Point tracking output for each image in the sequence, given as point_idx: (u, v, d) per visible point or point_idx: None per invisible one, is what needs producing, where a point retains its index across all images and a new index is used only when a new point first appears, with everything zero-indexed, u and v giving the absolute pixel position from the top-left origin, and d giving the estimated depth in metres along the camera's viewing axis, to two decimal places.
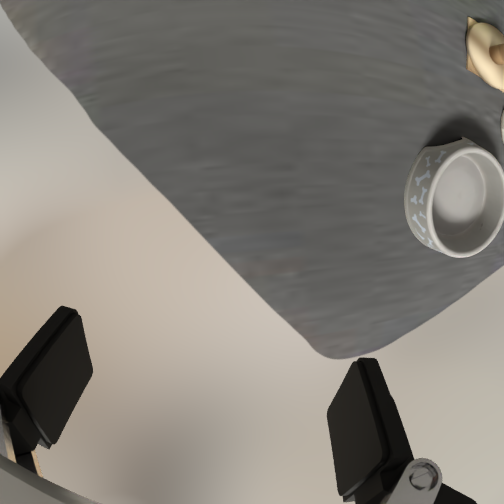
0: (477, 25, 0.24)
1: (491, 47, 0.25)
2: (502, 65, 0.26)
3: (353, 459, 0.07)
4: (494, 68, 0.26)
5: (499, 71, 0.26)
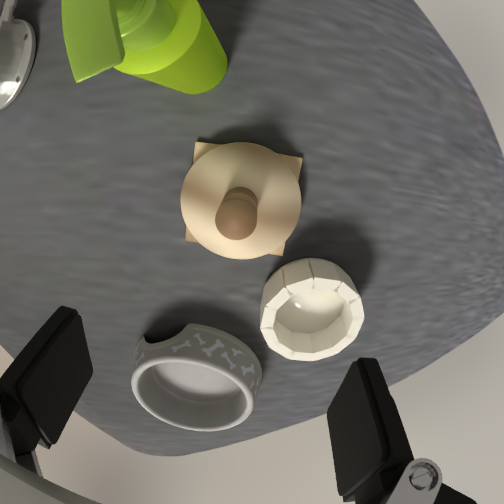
0: (201, 160, 0.26)
1: None
2: (256, 217, 0.28)
3: (353, 459, 0.07)
4: None
5: None
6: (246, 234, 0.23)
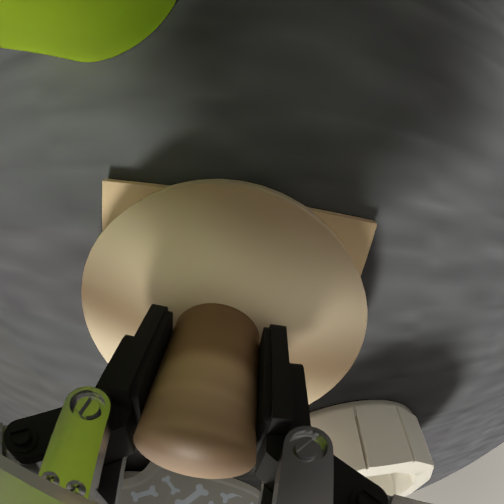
0: (109, 234, 0.09)
1: (174, 328, 0.10)
2: None
3: None
4: None
5: None
6: (227, 474, 0.07)
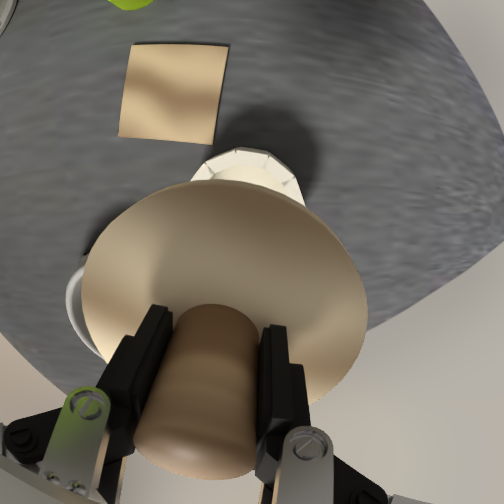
0: (109, 235, 0.09)
1: (174, 329, 0.10)
2: None
3: None
4: None
5: None
6: (226, 475, 0.07)
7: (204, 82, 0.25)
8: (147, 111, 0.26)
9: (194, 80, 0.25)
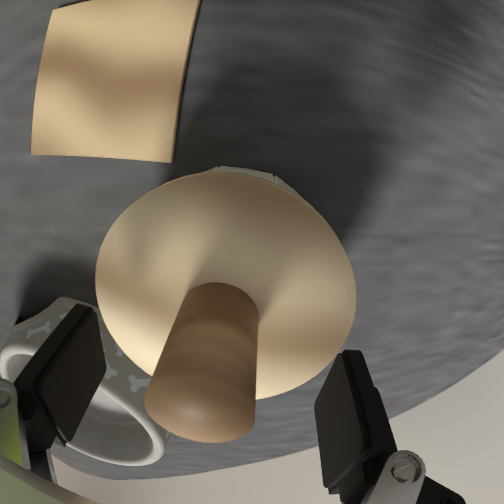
0: (123, 220, 0.11)
1: (181, 306, 0.11)
2: None
3: (337, 450, 0.07)
4: None
5: None
6: (228, 436, 0.08)
7: (157, 49, 0.12)
8: (67, 109, 0.14)
9: (140, 49, 0.12)
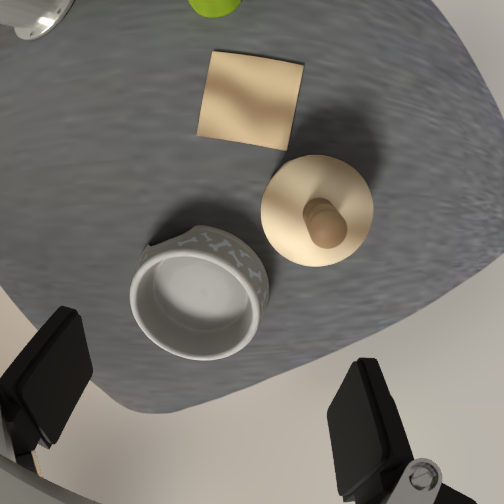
0: (285, 169, 0.27)
1: (306, 206, 0.28)
2: None
3: (353, 459, 0.07)
4: (310, 238, 0.30)
5: None
6: (336, 243, 0.24)
7: (282, 94, 0.29)
8: (227, 114, 0.30)
9: (273, 92, 0.29)
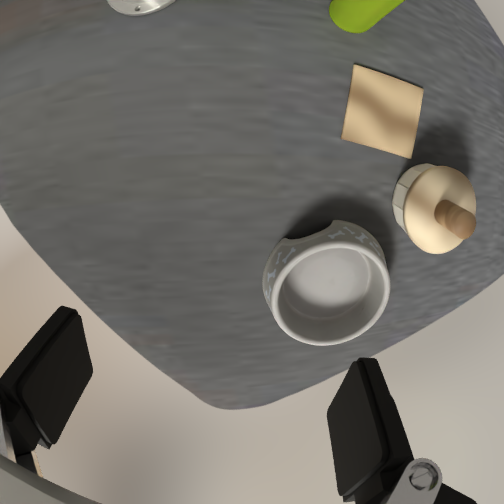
0: (426, 176, 0.30)
1: (439, 206, 0.31)
2: None
3: (353, 459, 0.07)
4: (436, 231, 0.32)
5: (444, 232, 0.32)
6: (468, 235, 0.27)
7: (409, 111, 0.32)
8: (368, 123, 0.33)
9: (402, 108, 0.31)
